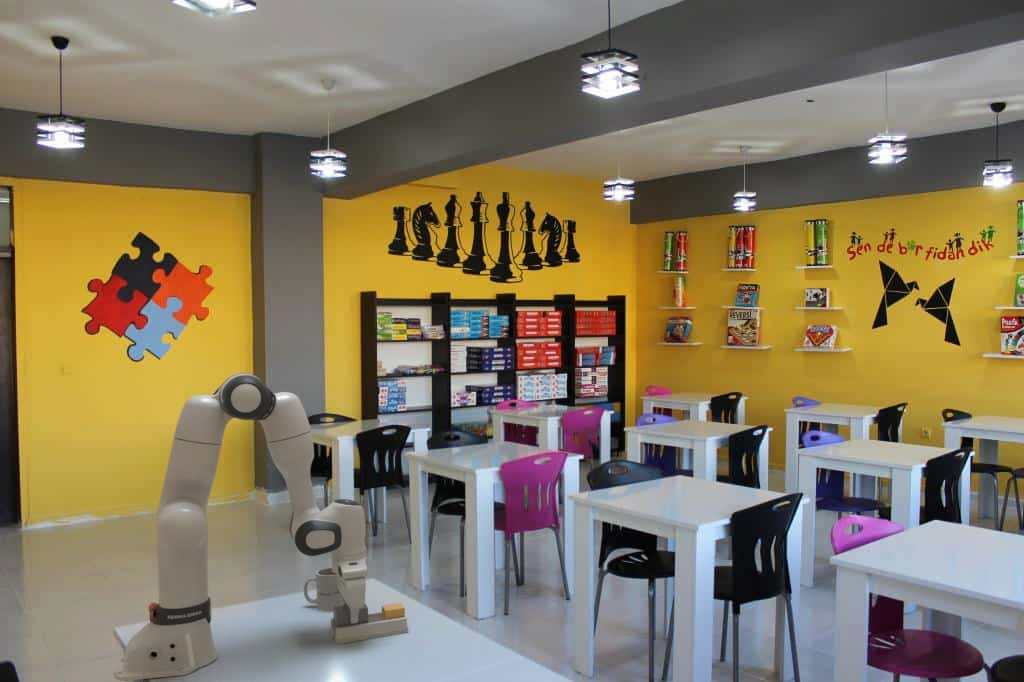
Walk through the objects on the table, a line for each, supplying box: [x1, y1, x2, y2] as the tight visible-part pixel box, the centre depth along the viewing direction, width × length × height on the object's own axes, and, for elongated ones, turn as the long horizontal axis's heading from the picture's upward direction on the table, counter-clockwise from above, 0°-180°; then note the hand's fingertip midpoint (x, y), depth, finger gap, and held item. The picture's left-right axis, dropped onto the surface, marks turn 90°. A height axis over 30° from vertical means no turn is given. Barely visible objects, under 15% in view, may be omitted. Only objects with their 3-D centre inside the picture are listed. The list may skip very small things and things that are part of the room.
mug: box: [303, 566, 344, 613], centre depth 232 cm, size 12×9×10 cm
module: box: [332, 603, 369, 633], centre depth 208 cm, size 8×5×6 cm, turn 111°
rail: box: [330, 602, 409, 645], centre depth 210 cm, size 18×10×6 cm, turn 111°
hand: (350, 616), depth 208 cm, fingers open, 8 cm apart
